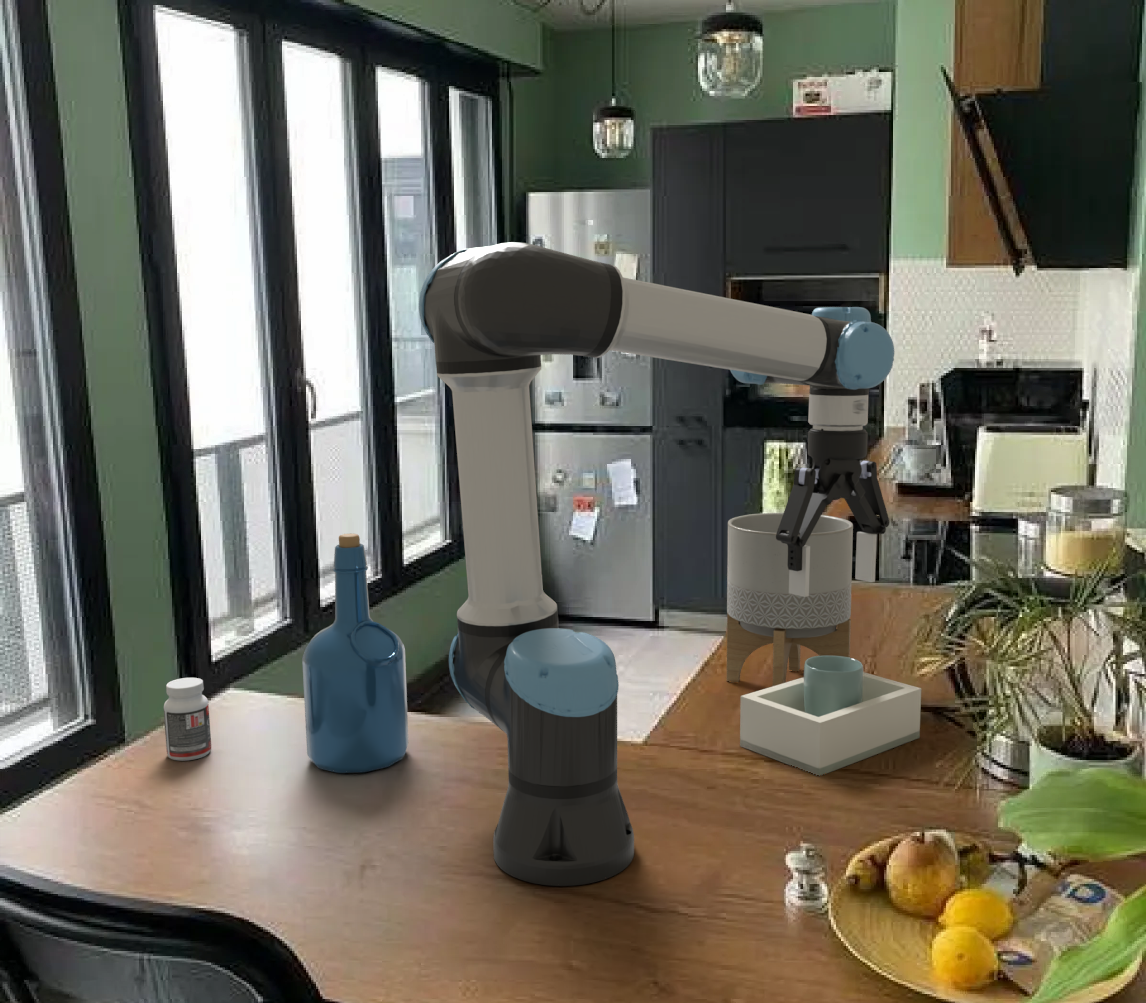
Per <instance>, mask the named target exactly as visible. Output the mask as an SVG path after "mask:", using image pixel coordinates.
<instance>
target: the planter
mask: <svg viewBox="0 0 1146 1003" xmlns="http://www.w3.org/2000/svg"><path fill="white" fill-rule="evenodd" d="M783 513H784V512H764V513H752V514H751V513H750V514H745V515H740V516H735V517H732V518H730V519H729V520H728V521H727V567H726V568H727V571H726V572H727V574H726V576H727V577H726V578H727V580H726V582H727V583H726V584H727V585H726V586H727V587H726V600H727V601H726V613H727V614H726V616H727V619H726V682H727V681H729V682H728V683H734V682H738V683H739V682H740V680H741V672H742V668H743V666H744V664H745V662H746V660H747V659H748V658H749V656H751V654H752V653H754V652H755V651H757V650H758V649H760V648H762V647H764V646H767V645H769V644H773V645H772V646H773V647H772V648H773V649H772V650H773V651H772V652H773V654H772V656H773V657H772V687H773V686H776V685H779V684H783V683H786V682H787V673H788V671H789V670H792V671H799V672H800V670H801V646H802V647H804V648H807V649H808V650H812V651H813V652H814V653H816V654H817V656H825V655H831V656H843V657H849V658H851V656H850V655H851V626H852V625H851V615H852V614H851V613H852V612H851V611H852V610H851V609H852V579H853V578H852V576H853V574H852V573H853V540H854V537H853V535H854V534H853V533H854V530H853V529H854V524H853V522H851V521H850V520H847V519H845V518H841V517H837V516H832V515H825V514H821V516H820V518H819V520H818V522H817V524H816V525H815V527H814V529H813V531H812V533H811V535H810V536H809V538H808V540H807V542H806V544H805V545H806V546H810V571H809V596H807V597H803V596H799V595H794V594H790V593H789V570H788V566H787V565H788V545H787V544H785V543H782V542H781V541H778V540H777V539H776V534H777V531H778V528H779V525H780V522H781V519H782V516H783ZM788 532H789V531H787V532H786V533H788ZM798 536H800V535H798ZM799 669H800V670H799ZM730 681H731V682H730Z"/></svg>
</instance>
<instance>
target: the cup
mask: <svg viewBox="0 0 1146 1003" xmlns="http://www.w3.org/2000/svg"><path fill="white" fill-rule="evenodd" d="M863 672H864V665H863V664H862V662H861V661H859V660H858V659H856V658H852V657H850V658H849V657H843V656H831V655H825V656H819V655H815V656H811V657H809V658H807V659H806V660H805V661H804V666H803V677H804V711H805V713H808V714H811V715H814V716H817V717H820V716H823V715H826V714H829V713H832V712H835V711H838V710H841V709H844V708H847V707H850V706H853V705H856V704H859V703H862V698H863Z"/></svg>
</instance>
